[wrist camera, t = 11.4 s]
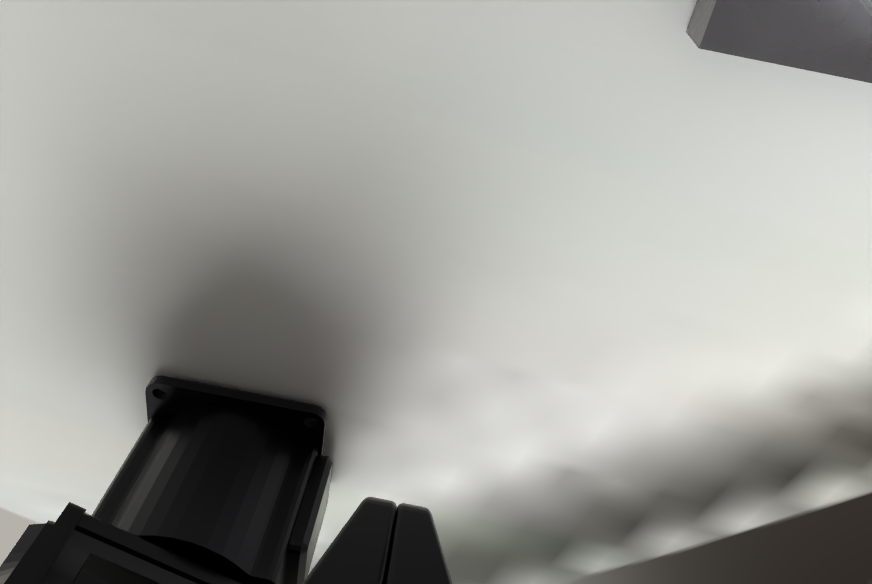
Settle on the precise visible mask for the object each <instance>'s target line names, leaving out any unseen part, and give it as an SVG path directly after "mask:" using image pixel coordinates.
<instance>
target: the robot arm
mask: <svg viewBox="0 0 872 584" xmlns="http://www.w3.org/2000/svg"><path fill="white" fill-rule="evenodd" d="M160 389H161V390H163V391H164V392H163V391H161V390H160ZM146 403H147V416H148V424H147V425H146V427H145V429H144V430H143V432H142V434H141V435H140V437H139V438H138V440H137V442H136V443H135V445H134V447H133V448H132V450H131V452H130V453H129V455H128V457H127V458H126V460H125V461H124V463H123V465H122V466H121V468H120V470H119V471H118V473H117V475H116V476H115V478H114V480H113V481H112V483H111V485H110V486H109V488H108V489H107V491H106V493H105V494H104V496H103V498H102V499H101V501H100V503H99V504H98V506H97V508H96V509H95V511H94V512H93V514H92V515H89V514H87V513H85V511H86V509H84V508H82V507H79V506H77V505H75V504H73V503H71V502H69V503H68V505H67V506H66V508H65V509H64V511H63V512H62V513H61V515H60V516H59V518H58V519H57V521H56V522H52V521H48V522H47V523H46V524H33V525H29V526H28V528H27V529H26V530H25V532H24V533H23V535H22V536H21V538H20V539H19V541H18V542H17V543H16V545H15V547H14V548H13V549H12V551H11V552H10V554H9V555H8V557H7V558H6V559H5V561H4V562H3V564H2V565H1V567H0V584H452V581H451V577H450V574H449V571H448V567H447V564H446V561H445V557H444V554H443V551H442V547H441V544H440V541H439V537H438V534H437V531H436V527H435V524H434V521H433V517H432V514H431V512H430V511H429V509H427V508H425V507H421V506H416V505H411V504H405V503H402V504H399V506H398V507H397V506H396V504H395V503H394V502H393V501H389V500H384V499H379V498H374V497H368V498H366V499H364V500H363V501H362V502H361V504H360V505H359V507H358V508H357V509H356V511H355V512H354V513H353V515H352V516H351V517H350V519H349V520H348V522H347V523H346V524H345V526H344V527H343V528H342V530H341V531H340V533H339V534H338V535H337V537H336V538H335V539H334V541H333V542H332V543H331V545H330V546H329V548H328V549H327V550H326V552H325V553H324V554H323V556H322V557H321V559H320V560H319V561H318V563H317V564H316V565H315V567H314V568H313V569H312V571H311V572H310V574H309V575H308V572H309V569H310V565H311V561H312V558H313V554H314V550H315V547H316V543H317V540H318V536H319V532H320V529H321V525H322V521H323V518H324V514H325V511H326V507H327V502H328V495H329V487H330V479H331V471H332V461H331V460H330V458H329V457H328V456H323V450H324V441H325V432H326V424H327V414H326V412H325V411H324V410H323V409H322V408H321V407H318V406H315V405H311V404H306V403H300V402H295V401H290V400H285V399H280V398H274V397H269V396H264V395H259V394H253V393H248V392H243V391H238V390H233V389H227V388H222V387H217V386H212V385H207V384H201V383H196V382H191V381H186V380H180V379H175V378H170V377H165V376H157V377H154V378H153V379H152V380H151V381H150V383H149V384H148V386H147V387H146ZM309 418H313V419H315V420H311V419H309ZM396 509H397V510H396Z"/></svg>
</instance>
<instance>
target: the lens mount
mask: <svg viewBox="0 0 872 584" xmlns="http://www.w3.org/2000/svg"><path fill="white" fill-rule="evenodd" d="M686 32H687V34H688V35H689V36H690V38H691V39H692V40H693V41H694V43H695V44H696V45H697V46H698V48H700V49H705V50H710V51H715V52H720V53H725V54H730V55H735V56H740V57H745V58H750V59H755V60H760V61H765V62H770V63H775V64H780V65H785V66H790V67H795V68H800V69H805V70H810V71H815V72H820V73H825V74H829V75H834V76H839V77H844V78H849V79H854V80H859V81H864V82H869V83H872V0H697V3H696V6H695V9H694V12H693V14H692V17H691V20H690V23H689V26H688V28H687V31H686Z"/></svg>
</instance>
